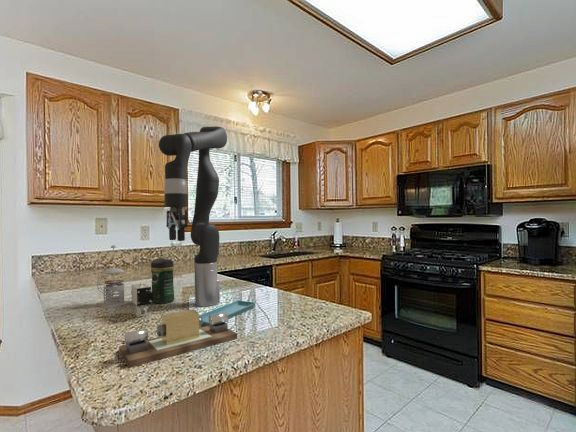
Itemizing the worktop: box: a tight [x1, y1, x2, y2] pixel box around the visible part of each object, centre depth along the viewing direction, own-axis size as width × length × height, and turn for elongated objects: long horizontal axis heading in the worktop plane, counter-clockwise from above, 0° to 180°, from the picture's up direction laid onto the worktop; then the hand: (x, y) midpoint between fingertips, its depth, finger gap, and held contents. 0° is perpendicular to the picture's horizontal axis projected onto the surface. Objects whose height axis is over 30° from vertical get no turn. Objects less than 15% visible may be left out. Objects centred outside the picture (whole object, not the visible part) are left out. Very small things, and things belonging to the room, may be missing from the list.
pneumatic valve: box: [130, 282, 153, 318], centre depth 121 cm, size 6×12×12 cm, turn 38°
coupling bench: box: [118, 312, 238, 368], centre depth 92 cm, size 29×12×6 cm, turn 127°
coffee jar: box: [150, 258, 175, 304], centre depth 141 cm, size 10×8×19 cm
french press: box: [96, 244, 128, 308], centre depth 138 cm, size 10×12×25 cm
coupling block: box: [156, 309, 204, 345], centre depth 91 cm, size 12×4×7 cm, turn 127°
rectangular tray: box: [199, 300, 256, 327], centre depth 119 cm, size 26×9×2 cm, turn 151°
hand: (176, 240), depth 111 cm, fingers open, 8 cm apart
